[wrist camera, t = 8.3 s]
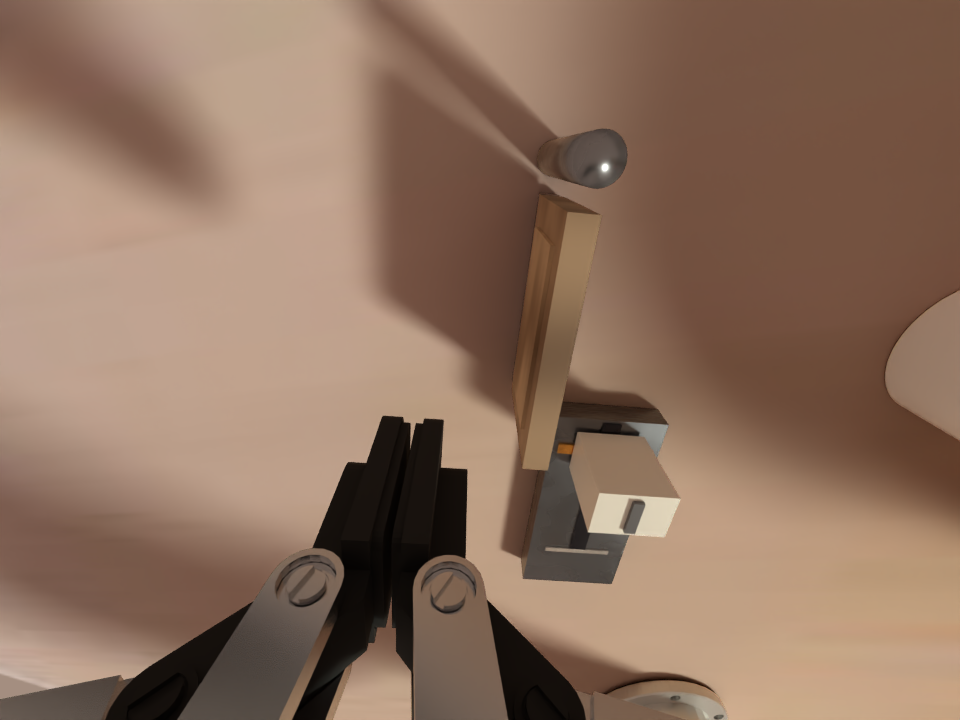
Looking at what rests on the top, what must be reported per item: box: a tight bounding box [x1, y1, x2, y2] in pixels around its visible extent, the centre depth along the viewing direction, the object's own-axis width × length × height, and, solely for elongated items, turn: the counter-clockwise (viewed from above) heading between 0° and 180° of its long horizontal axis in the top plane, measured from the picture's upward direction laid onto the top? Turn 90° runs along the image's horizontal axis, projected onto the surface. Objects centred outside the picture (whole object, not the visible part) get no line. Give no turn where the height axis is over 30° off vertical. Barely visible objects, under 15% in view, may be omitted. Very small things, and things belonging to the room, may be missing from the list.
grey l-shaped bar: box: [512, 129, 627, 383], centre depth 16 cm, size 12×1×8 cm, turn 175°
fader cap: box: [569, 432, 681, 537], centre depth 20 cm, size 2×4×5 cm, turn 85°
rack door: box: [512, 195, 602, 471], centre depth 17 cm, size 10×1×6 cm, turn 175°
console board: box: [521, 402, 669, 584], centre depth 25 cm, size 13×6×2 cm, turn 175°
